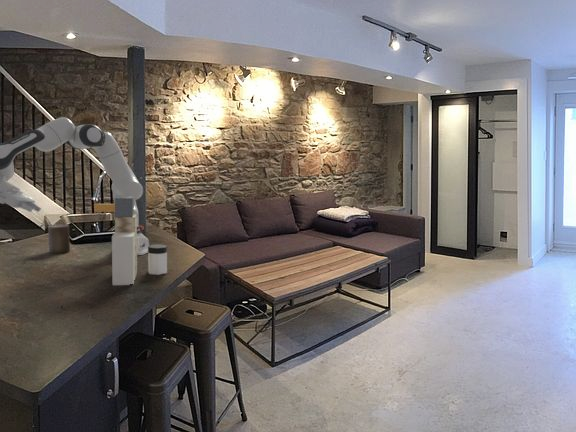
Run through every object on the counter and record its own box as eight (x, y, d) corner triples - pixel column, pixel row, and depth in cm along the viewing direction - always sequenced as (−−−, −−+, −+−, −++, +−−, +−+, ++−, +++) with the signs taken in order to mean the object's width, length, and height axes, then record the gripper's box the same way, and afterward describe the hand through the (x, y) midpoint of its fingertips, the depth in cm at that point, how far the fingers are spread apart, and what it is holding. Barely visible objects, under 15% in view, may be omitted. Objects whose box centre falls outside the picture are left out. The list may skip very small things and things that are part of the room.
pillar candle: (73, 251, 248) (73, 223, 246) (56, 254, 240) (55, 225, 238) (62, 249, 253) (61, 221, 251) (44, 252, 245) (43, 223, 243)
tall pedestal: (115, 277, 204) (115, 217, 200) (118, 272, 212) (117, 214, 209) (135, 277, 206) (135, 217, 202) (137, 272, 214) (136, 214, 211)
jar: (160, 268, 221) (160, 243, 219) (171, 272, 216) (171, 246, 214) (143, 272, 214) (143, 246, 213) (154, 276, 209) (154, 249, 208)
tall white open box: (112, 285, 193) (111, 236, 190) (115, 279, 202) (114, 232, 199) (133, 284, 195) (132, 236, 192) (135, 278, 204) (134, 232, 201)
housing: (93, 217, 199) (93, 197, 198) (96, 214, 206) (95, 196, 205) (132, 217, 203) (132, 198, 202) (133, 214, 209) (133, 196, 208)
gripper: (-2, 185, 188) (31, 203, 190) (18, 187, 208) (47, 203, 210) (-11, 199, 188) (22, 217, 190) (10, 199, 208) (40, 216, 210)
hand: (35, 210), depth 200 cm, fingers open, 8 cm apart
